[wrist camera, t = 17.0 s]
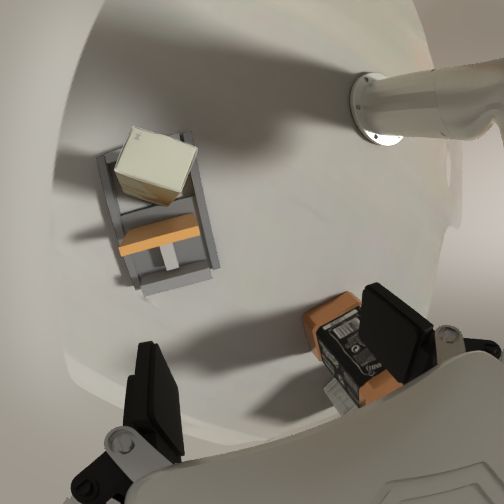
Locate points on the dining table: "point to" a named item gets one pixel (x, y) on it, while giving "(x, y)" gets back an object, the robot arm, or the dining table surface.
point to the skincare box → (154, 166)
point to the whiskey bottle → (347, 350)
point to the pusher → (161, 237)
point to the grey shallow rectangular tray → (187, 251)
